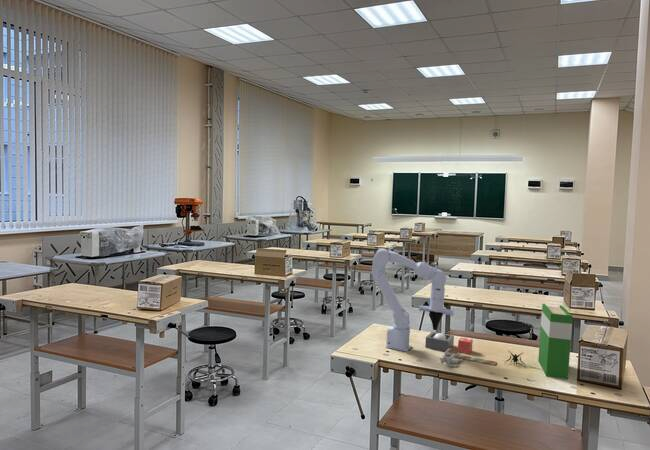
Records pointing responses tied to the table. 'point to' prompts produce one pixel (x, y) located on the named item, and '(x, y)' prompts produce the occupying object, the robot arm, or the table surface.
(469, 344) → the die
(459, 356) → the track
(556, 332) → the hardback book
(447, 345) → the dome base
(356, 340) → the table surface
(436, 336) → the dome
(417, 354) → the table surface
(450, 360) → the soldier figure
